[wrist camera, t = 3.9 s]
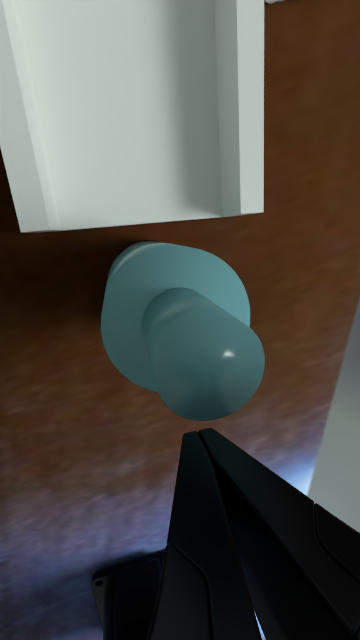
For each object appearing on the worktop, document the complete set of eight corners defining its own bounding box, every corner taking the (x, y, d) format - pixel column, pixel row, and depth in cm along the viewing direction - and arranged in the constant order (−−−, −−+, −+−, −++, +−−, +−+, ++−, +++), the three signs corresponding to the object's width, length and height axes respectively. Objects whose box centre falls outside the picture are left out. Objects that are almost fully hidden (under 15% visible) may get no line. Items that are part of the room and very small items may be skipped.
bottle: (194, 319, 16) (308, 440, 7) (114, 331, 15) (113, 487, 6) (189, 237, 15) (320, 243, 5) (100, 245, 14) (71, 269, 5)
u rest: (235, 216, 15) (263, 211, 12) (40, 232, 13) (20, 232, 10) (227, -95, 11) (264, -204, 9) (-38, -125, 10) (-101, -271, 7)
